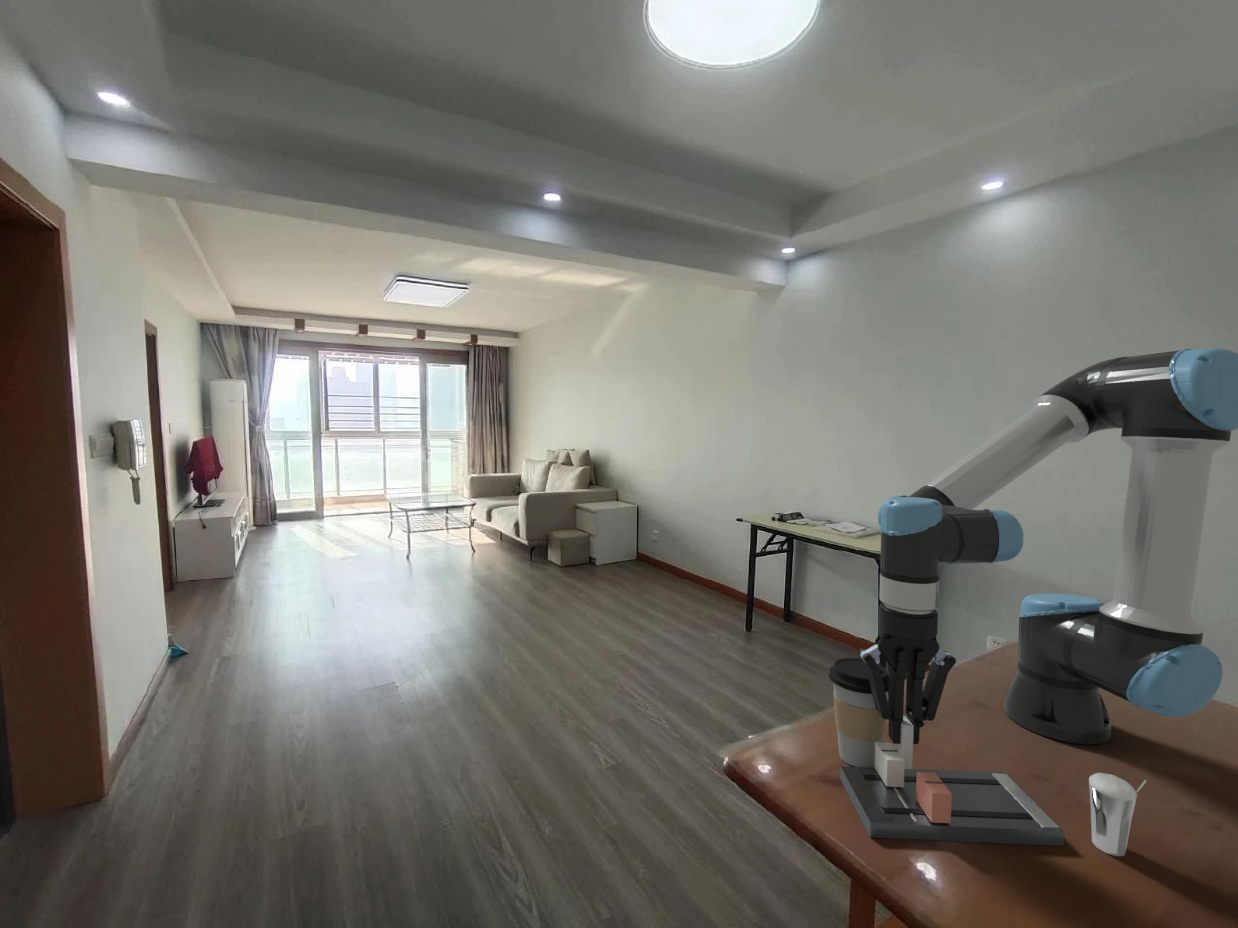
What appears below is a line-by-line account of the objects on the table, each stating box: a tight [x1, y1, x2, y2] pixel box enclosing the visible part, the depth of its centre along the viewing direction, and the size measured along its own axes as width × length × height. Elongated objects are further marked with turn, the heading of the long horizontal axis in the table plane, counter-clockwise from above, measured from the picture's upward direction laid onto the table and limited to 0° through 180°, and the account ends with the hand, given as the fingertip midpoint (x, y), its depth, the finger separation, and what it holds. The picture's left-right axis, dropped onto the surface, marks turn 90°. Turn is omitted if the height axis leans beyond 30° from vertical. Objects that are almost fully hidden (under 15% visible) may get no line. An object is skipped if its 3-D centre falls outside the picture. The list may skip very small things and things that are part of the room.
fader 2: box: [916, 772, 952, 823], centre depth 74 cm, size 2×4×4 cm, turn 176°
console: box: [839, 765, 1065, 847], centre depth 78 cm, size 24×12×2 cm, turn 86°
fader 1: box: [874, 741, 905, 787], centre depth 81 cm, size 2×4×4 cm, turn 176°
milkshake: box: [1088, 772, 1147, 857], centre depth 70 cm, size 4×5×10 cm
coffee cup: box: [828, 657, 889, 768], centre depth 89 cm, size 9×9×15 cm
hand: (902, 763), depth 81 cm, fingers closed
